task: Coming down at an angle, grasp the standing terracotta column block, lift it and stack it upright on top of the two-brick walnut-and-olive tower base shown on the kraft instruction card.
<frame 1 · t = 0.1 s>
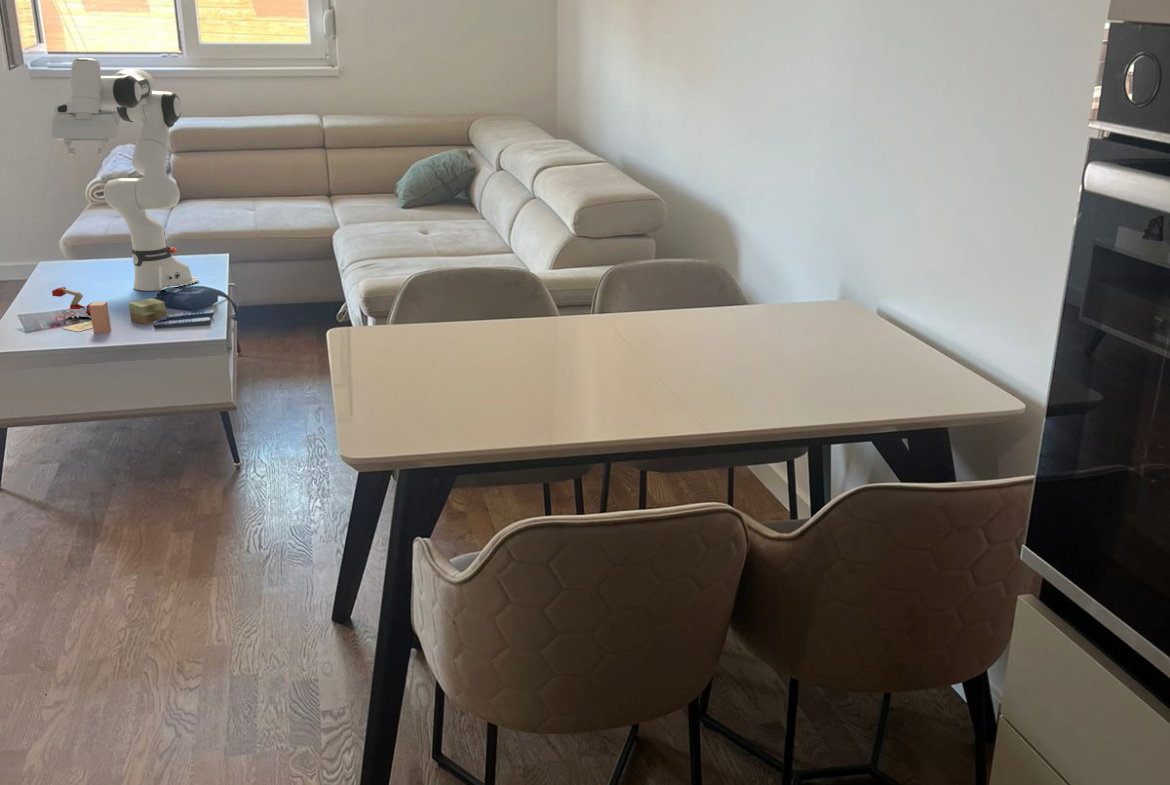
hand: (86, 154, 334), 52 cm above the table, tool tilted 20°, fingers open, 8 cm apart
tower base: (149, 320, 345), on the table
instruction card: (84, 326, 338), on the table
terracotta column block: (102, 331, 333), on the table
toy fire truck: (78, 317, 348), on the table
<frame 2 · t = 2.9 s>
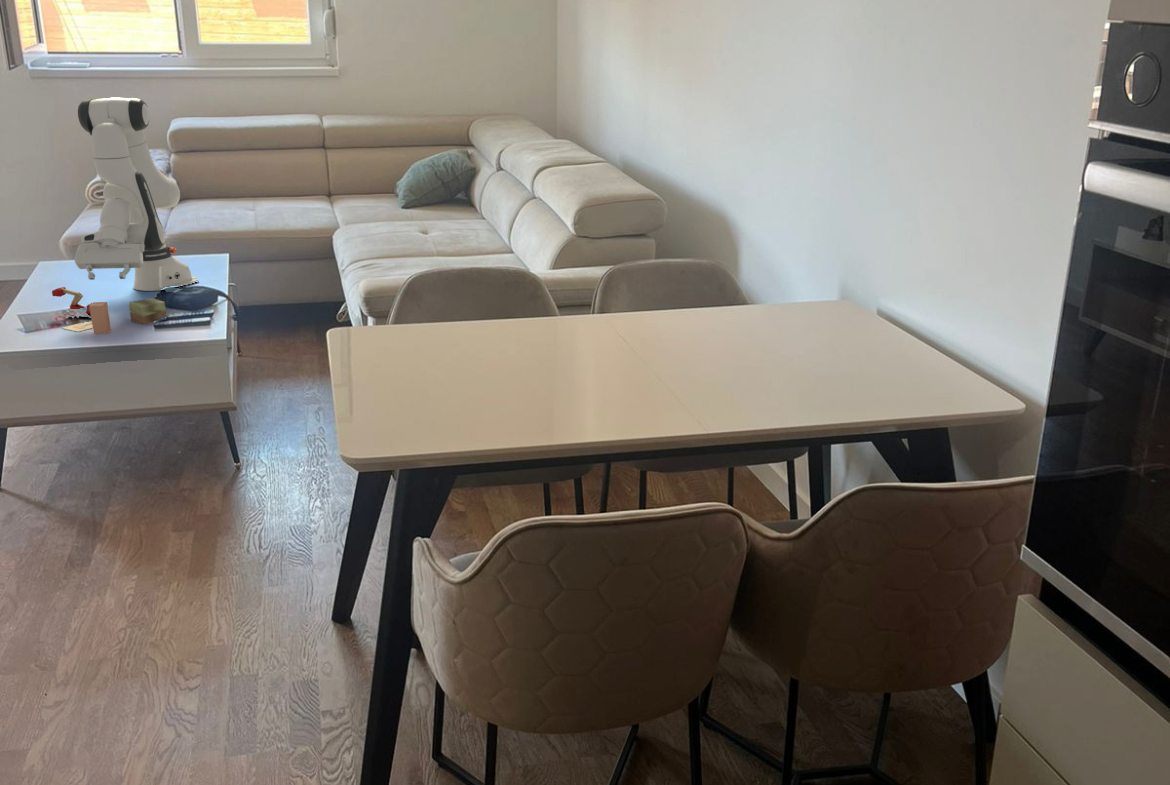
hand: (106, 278, 338), 14 cm above the table, tool tilted 45°, fingers open, 8 cm apart
nothing on the table moved.
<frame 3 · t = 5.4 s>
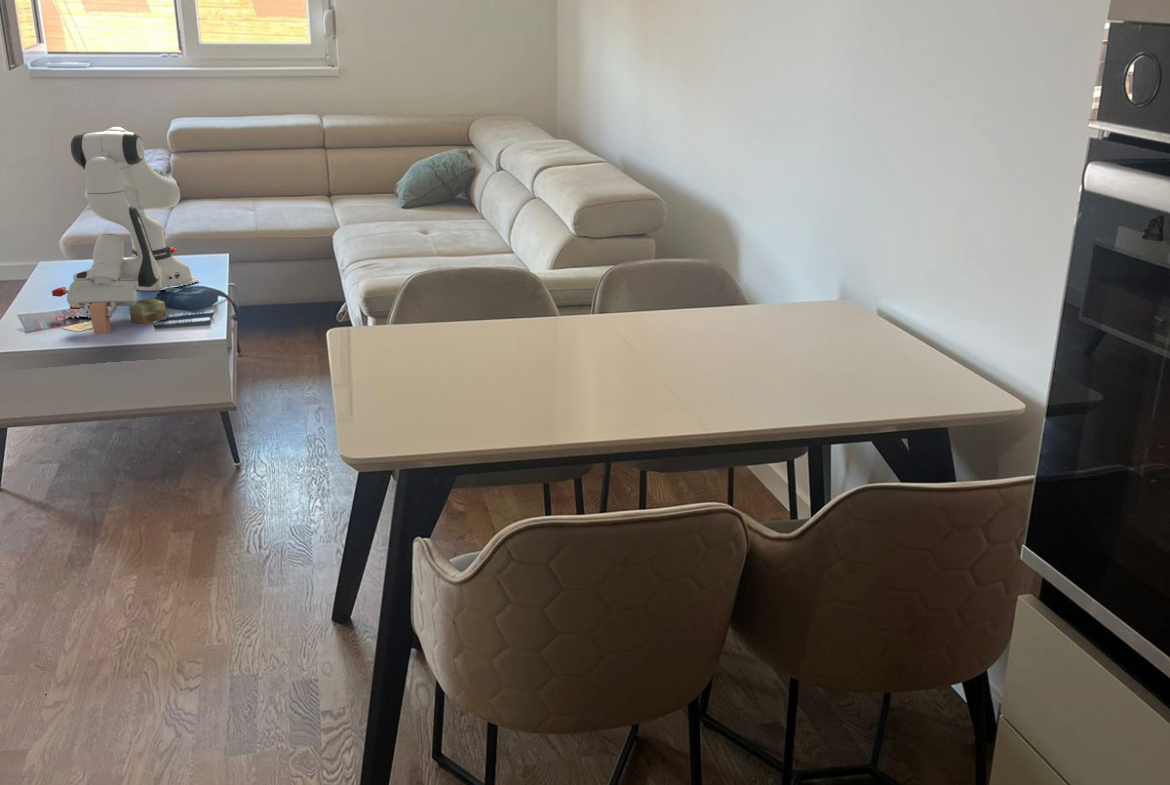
hand: (99, 317, 331), 5 cm above the table, tool tilted 45°, fingers closed on terracotta column block, 4 cm apart
terracotta column block: (102, 331, 333), on the table, touching gripper
everything else where it was.
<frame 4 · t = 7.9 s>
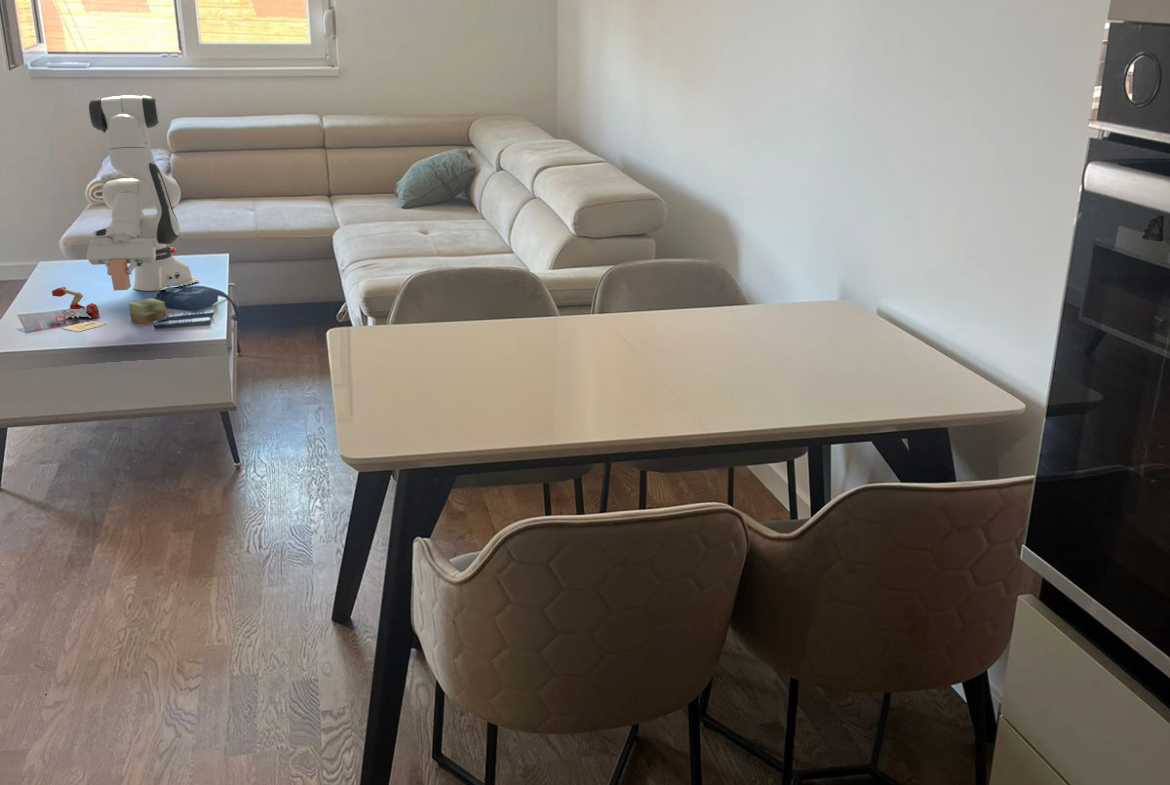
hand: (119, 274, 332), 17 cm above the table, tool tilted 45°, fingers closed on terracotta column block, 4 cm apart
terracotta column block: (122, 288, 334), point 12 cm above the table, touching gripper
everything else where it was.
when the fingers open (12 cm above the table, at t = 10.0 s): terracotta column block drops 1 cm, resting on tower base.
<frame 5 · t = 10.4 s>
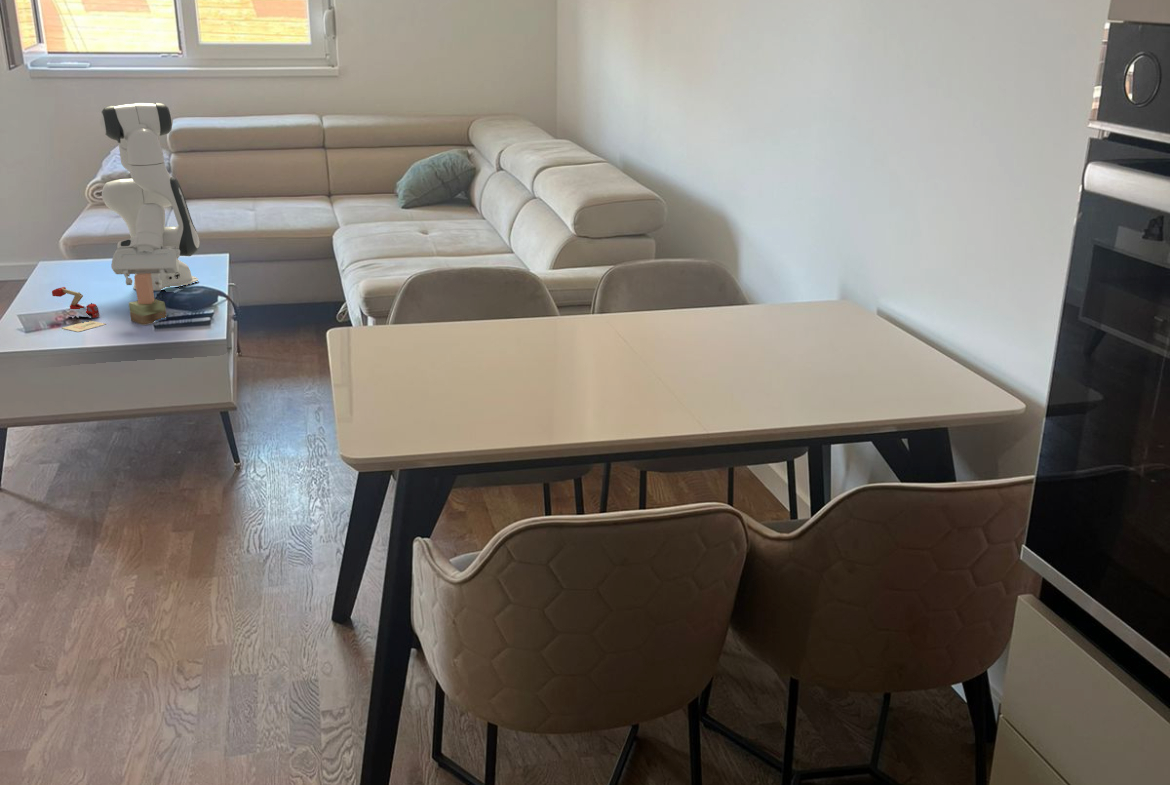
hand: (143, 283, 340), 12 cm above the table, tool tilted 45°, fingers open, 8 cm apart
terracotta column block: (146, 302, 343), point 6 cm above the table, touching tower base
everything else where it was.
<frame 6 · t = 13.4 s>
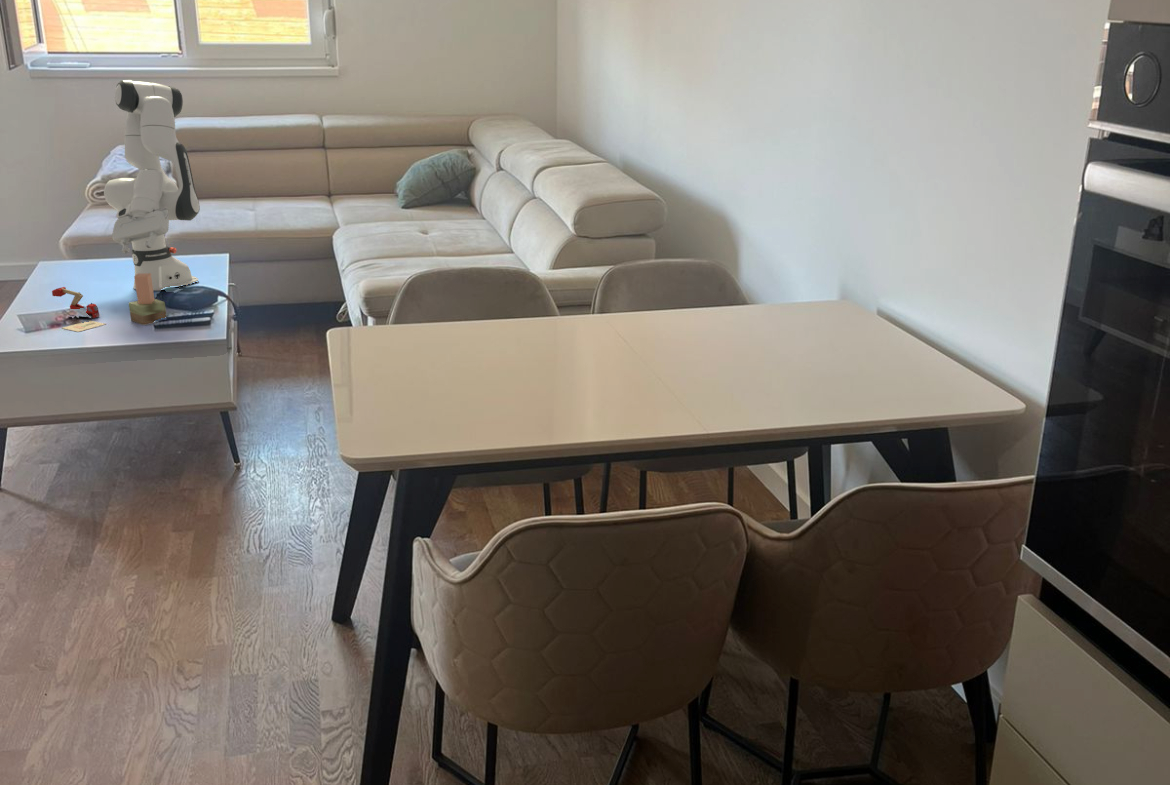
hand: (137, 249, 344), 22 cm above the table, tool tilted 40°, fingers open, 8 cm apart
nothing on the table moved.
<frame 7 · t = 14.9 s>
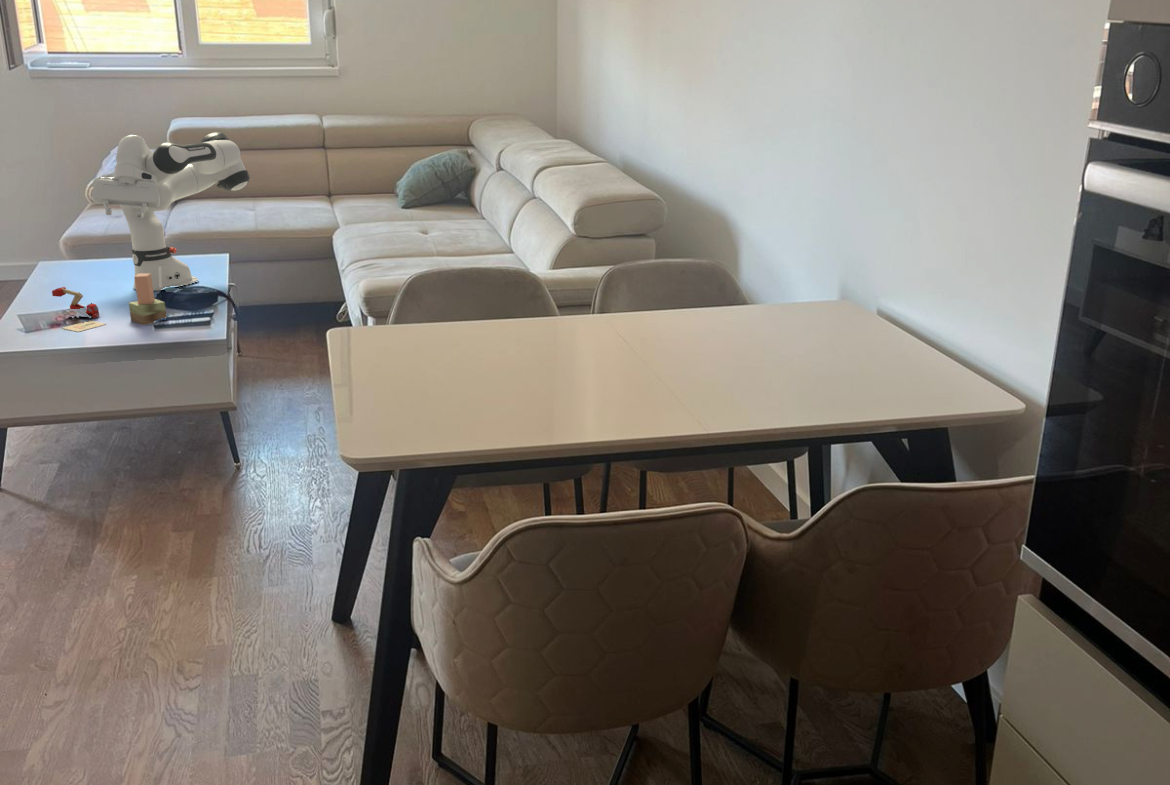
hand: (124, 215, 341), 33 cm above the table, tool tilted 45°, fingers open, 8 cm apart
nothing on the table moved.
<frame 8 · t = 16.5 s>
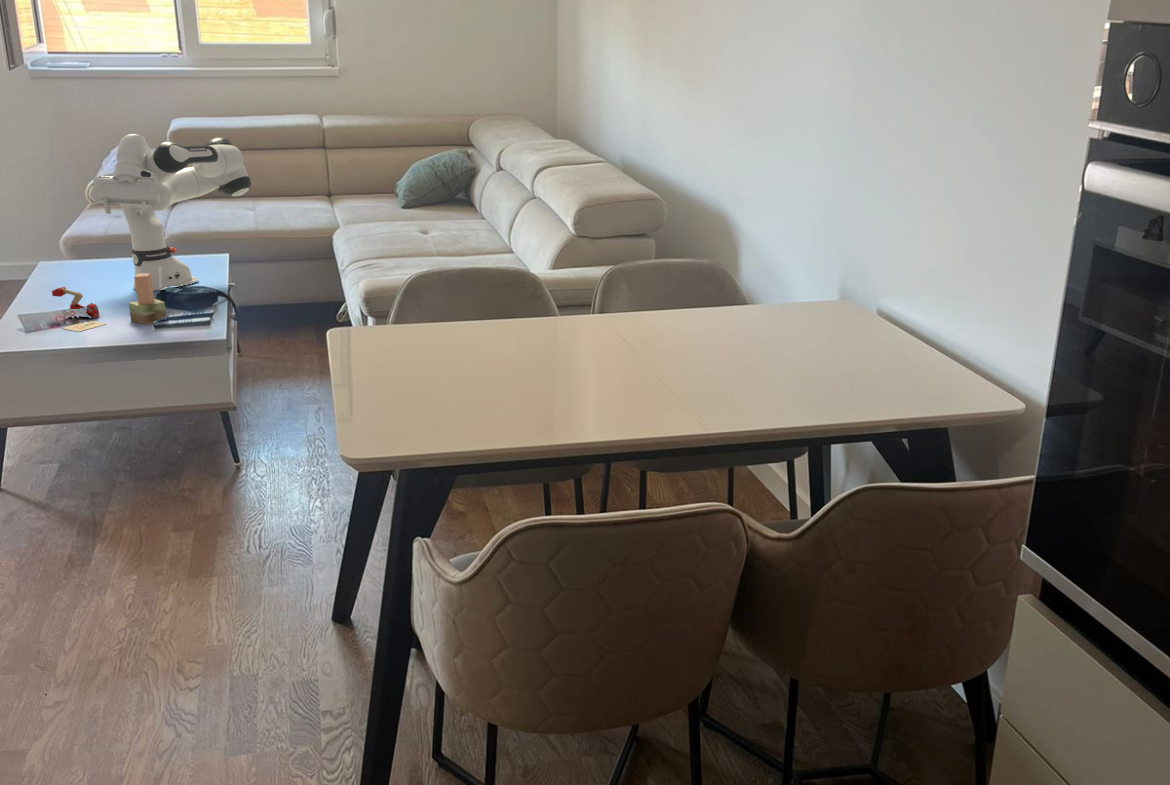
hand: (123, 213, 340), 33 cm above the table, tool tilted 45°, fingers open, 8 cm apart
nothing on the table moved.
at the end: terracotta column block 0.0 cm off-centre on the tower base, point 6.0 cm above the tower base's base; terracotta column block tilted 0°; the gripper is holding nothing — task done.
